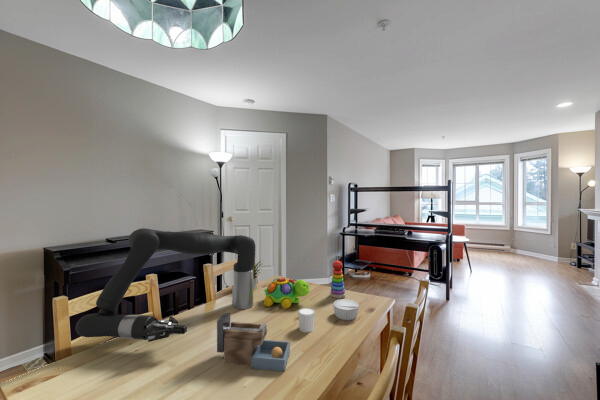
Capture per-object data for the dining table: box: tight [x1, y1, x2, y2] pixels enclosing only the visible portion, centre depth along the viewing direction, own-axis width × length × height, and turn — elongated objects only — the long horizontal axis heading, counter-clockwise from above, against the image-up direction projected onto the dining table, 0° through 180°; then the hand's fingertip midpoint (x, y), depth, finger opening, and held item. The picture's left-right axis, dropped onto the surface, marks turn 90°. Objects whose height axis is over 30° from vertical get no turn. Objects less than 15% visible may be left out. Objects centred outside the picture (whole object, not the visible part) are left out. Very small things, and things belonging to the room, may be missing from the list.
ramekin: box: [332, 298, 360, 321], centre depth 119 cm, size 11×11×5 cm
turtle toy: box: [263, 277, 311, 310], centre depth 134 cm, size 17×23×12 cm
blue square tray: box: [251, 339, 291, 372], centre depth 87 cm, size 10×10×4 cm
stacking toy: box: [329, 260, 346, 299], centre depth 142 cm, size 8×8×19 cm
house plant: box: [253, 260, 264, 290], centre depth 154 cm, size 14×14×16 cm
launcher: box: [223, 321, 268, 366], centre depth 88 cm, size 12×7×10 cm, turn 83°
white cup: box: [297, 307, 316, 333], centre depth 107 cm, size 7×7×7 cm
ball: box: [271, 347, 282, 358], centre depth 87 cm, size 4×4×4 cm
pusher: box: [216, 312, 266, 354], centre depth 88 cm, size 14×6×10 cm, turn 83°
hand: (185, 329), depth 90 cm, fingers closed
